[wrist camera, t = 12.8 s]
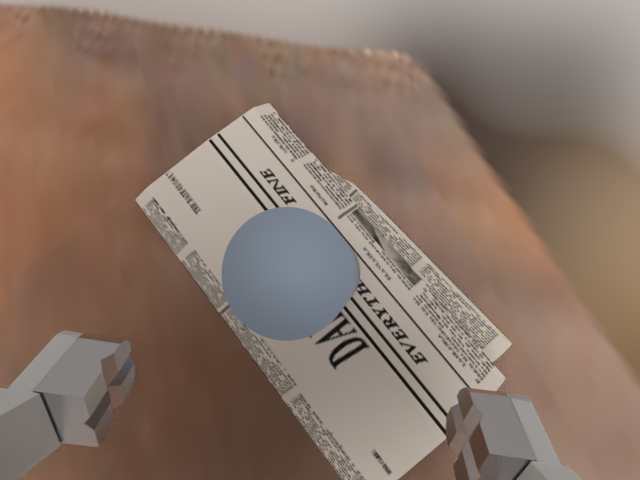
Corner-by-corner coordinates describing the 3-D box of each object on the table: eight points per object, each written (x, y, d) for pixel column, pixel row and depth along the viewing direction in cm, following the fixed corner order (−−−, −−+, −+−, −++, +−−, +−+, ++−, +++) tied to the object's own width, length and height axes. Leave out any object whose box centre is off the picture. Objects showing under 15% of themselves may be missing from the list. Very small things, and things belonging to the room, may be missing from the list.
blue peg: (277, 303, 21) (210, 326, 13) (290, 228, 22) (234, 198, 13) (353, 318, 21) (339, 352, 12) (366, 240, 21) (362, 217, 12)
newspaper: (514, 353, 23) (536, 360, 20) (359, 487, 22) (361, 511, 20) (285, 89, 26) (279, 67, 24) (144, 198, 25) (123, 188, 23)
